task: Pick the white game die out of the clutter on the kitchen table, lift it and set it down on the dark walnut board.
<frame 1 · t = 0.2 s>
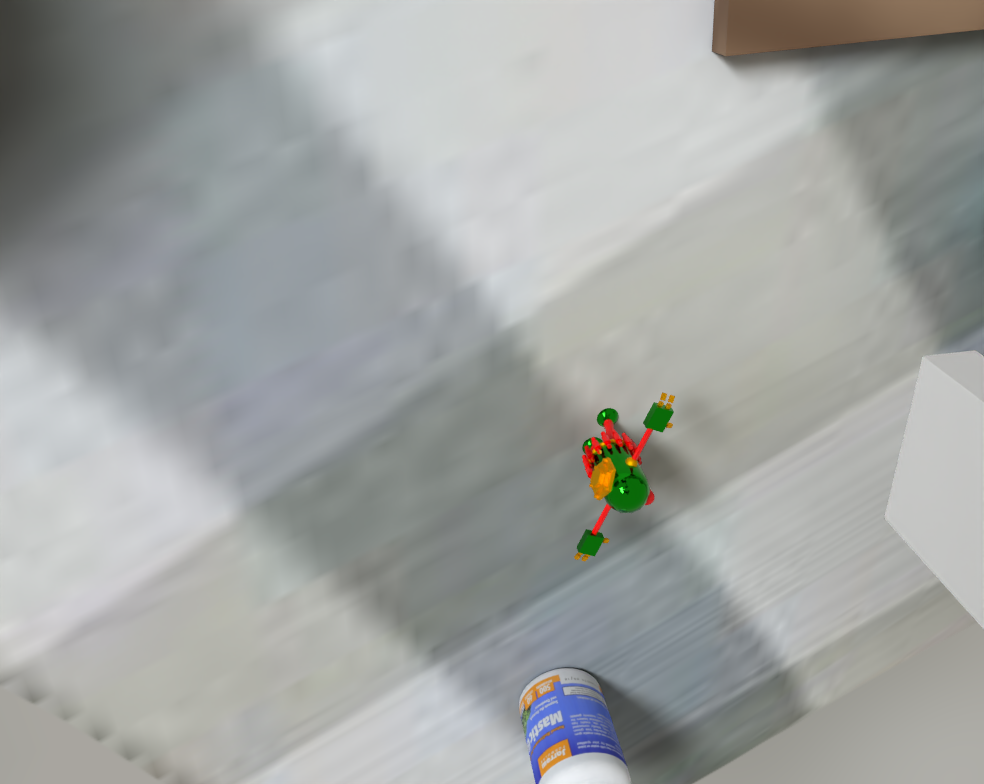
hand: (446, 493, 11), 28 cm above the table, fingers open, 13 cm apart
toy character: (581, 422, 45), on the table
pill bottle: (558, 693, 54), on the table
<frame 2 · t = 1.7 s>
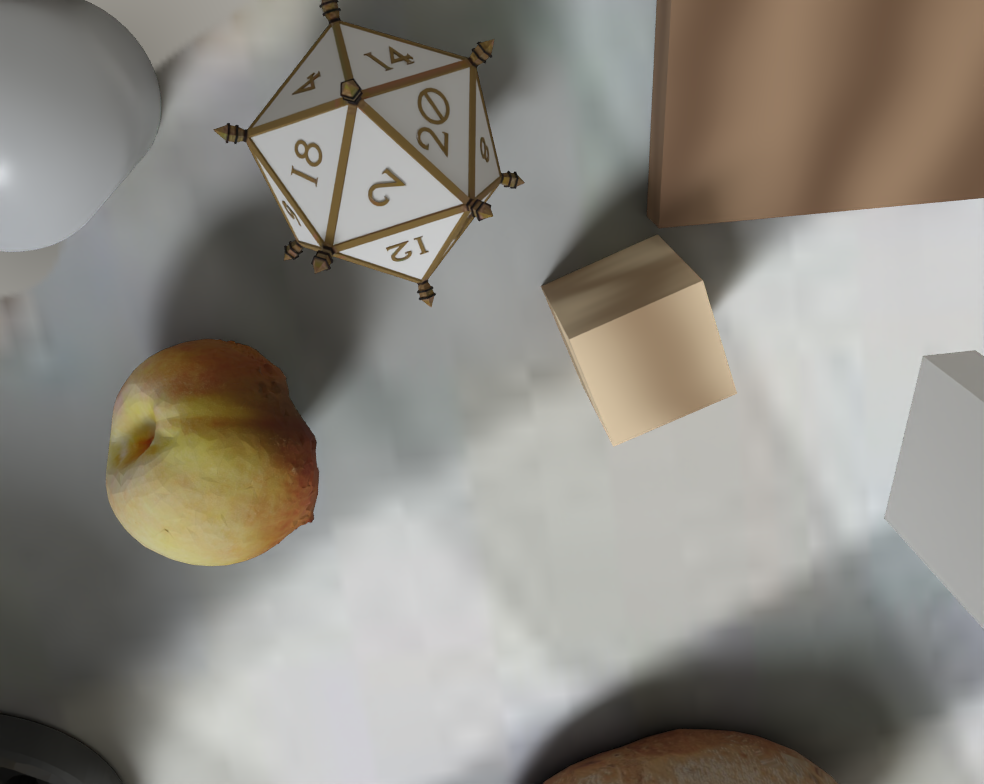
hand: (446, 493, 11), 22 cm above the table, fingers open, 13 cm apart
beech block: (617, 311, 35), on the table
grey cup: (64, 92, 28), on the table
game die: (376, 129, 30), on the table
board: (845, 7, 30), on the table
fruit: (230, 396, 34), on the table
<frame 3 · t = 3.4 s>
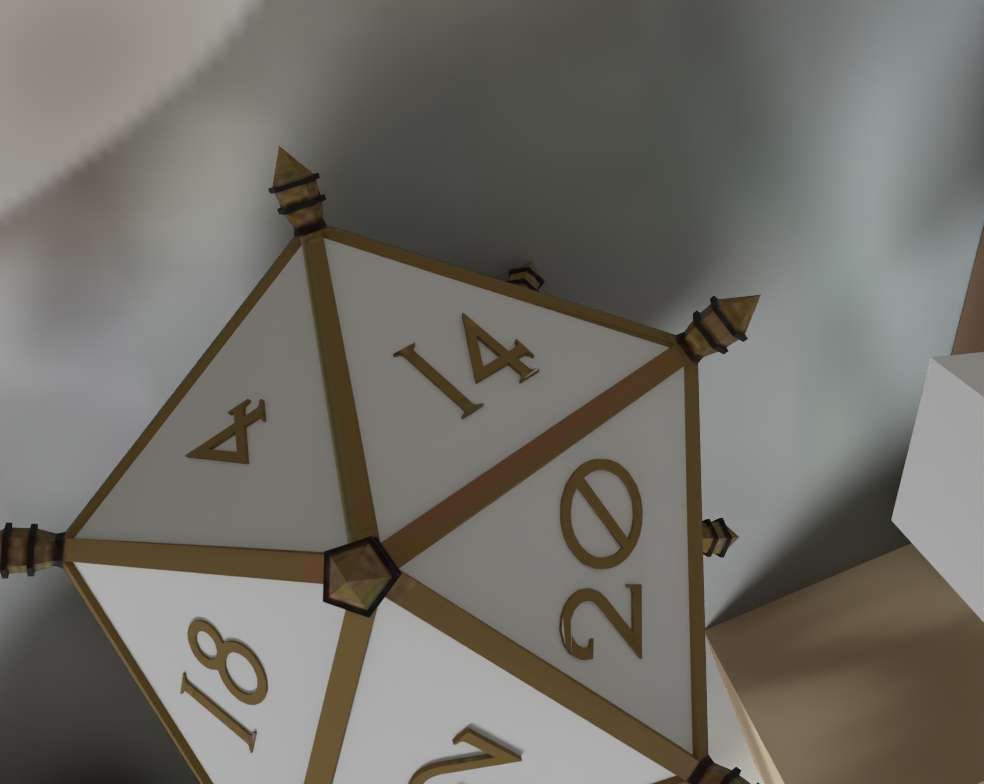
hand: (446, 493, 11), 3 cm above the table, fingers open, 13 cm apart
beech block: (831, 655, 19), on the table
game die: (402, 387, 14), on the table
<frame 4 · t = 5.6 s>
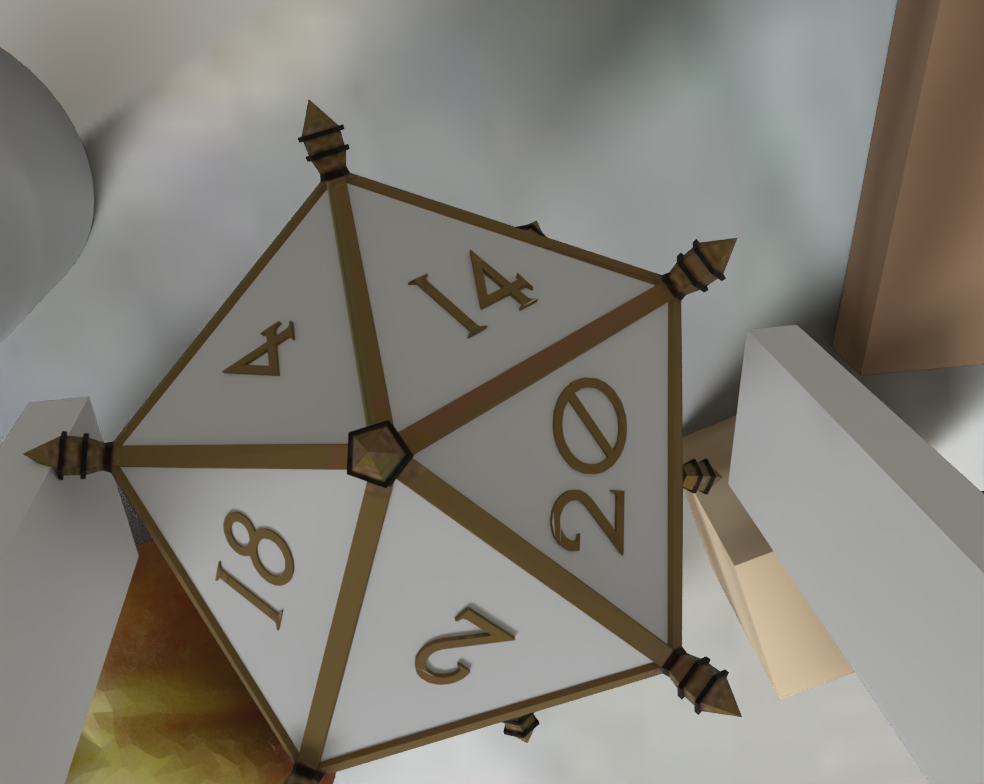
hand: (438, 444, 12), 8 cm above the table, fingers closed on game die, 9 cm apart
beech block: (772, 473, 24), on the table
game die: (413, 337, 15), point 5 cm above the table, touching gripper
fruit: (211, 587, 24), on the table
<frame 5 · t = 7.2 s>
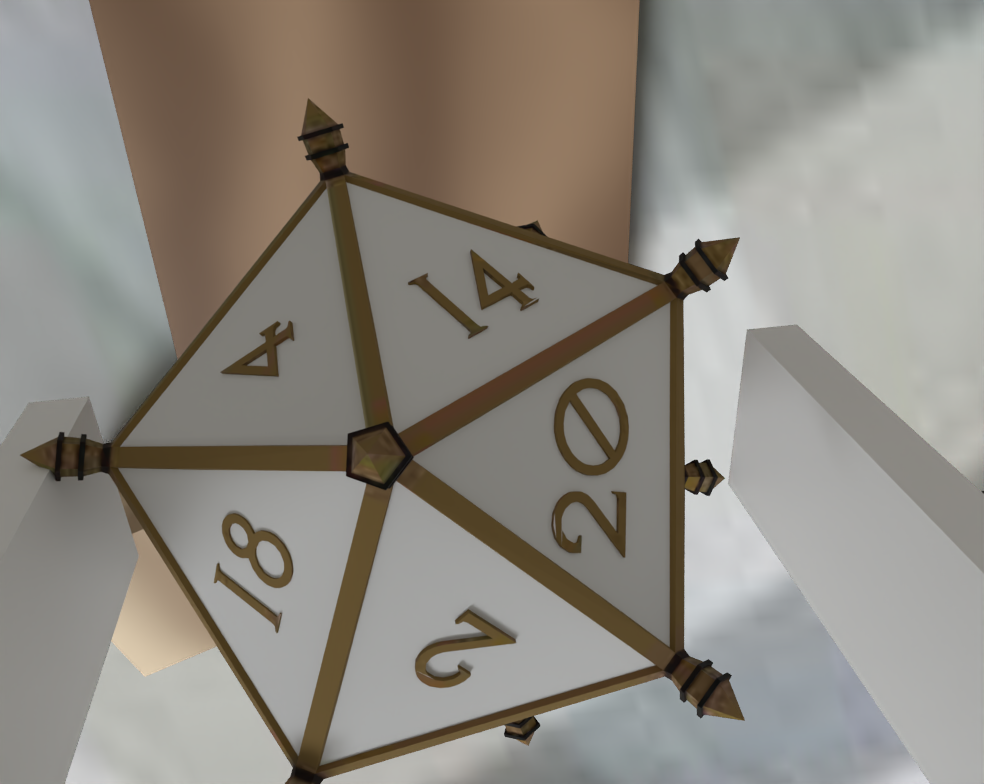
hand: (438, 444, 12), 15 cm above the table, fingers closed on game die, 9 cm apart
beech block: (195, 498, 30), on the table
game die: (414, 337, 15), point 12 cm above the table, touching gripper
board: (391, 173, 25), on the table
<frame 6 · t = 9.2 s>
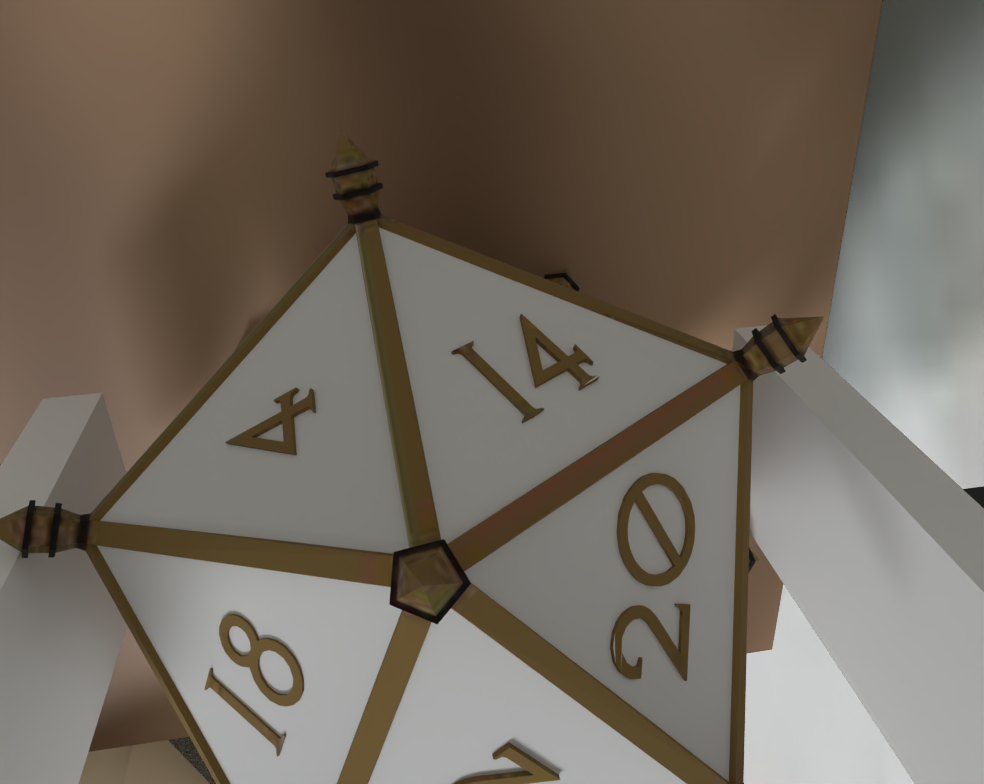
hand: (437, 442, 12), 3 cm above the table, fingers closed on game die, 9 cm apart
game die: (424, 386, 14), point 1 cm above the table, touching board, gripper
board: (412, 359, 15), on the table
when the fingers open (3 cm above the table, at t = 9.9 s): game die stays where it is, resting on board.
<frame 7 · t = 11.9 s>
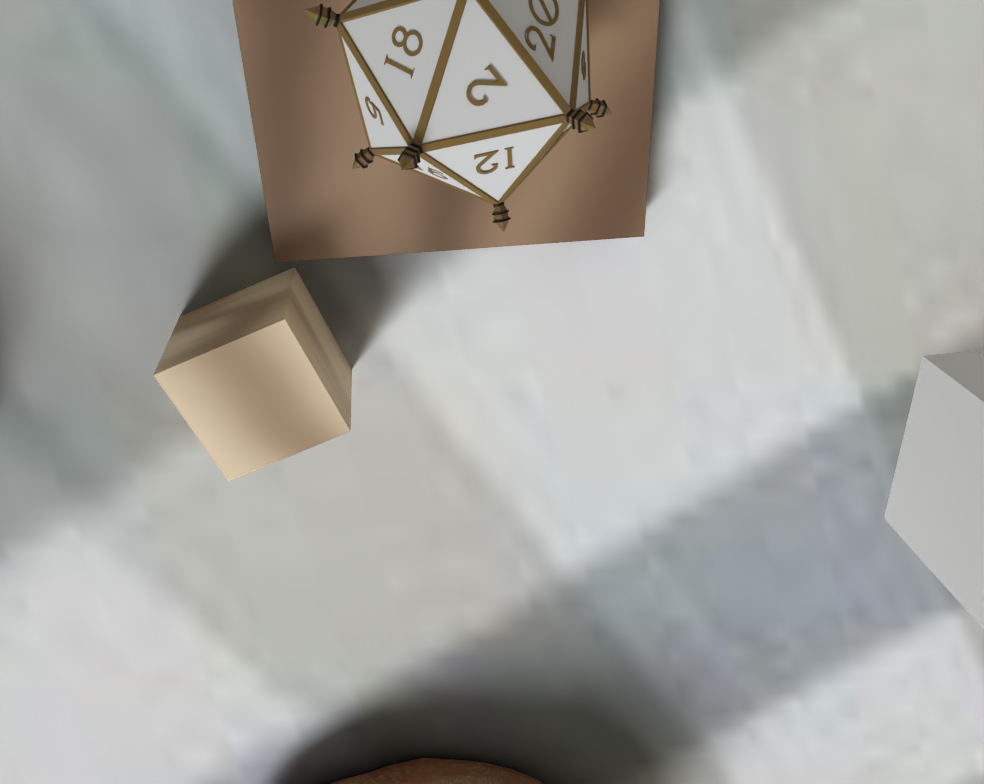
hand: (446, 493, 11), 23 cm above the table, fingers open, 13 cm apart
beech block: (268, 342, 35), on the table
game die: (457, 46, 29), point 1 cm above the table, touching board
board: (450, 45, 30), on the table
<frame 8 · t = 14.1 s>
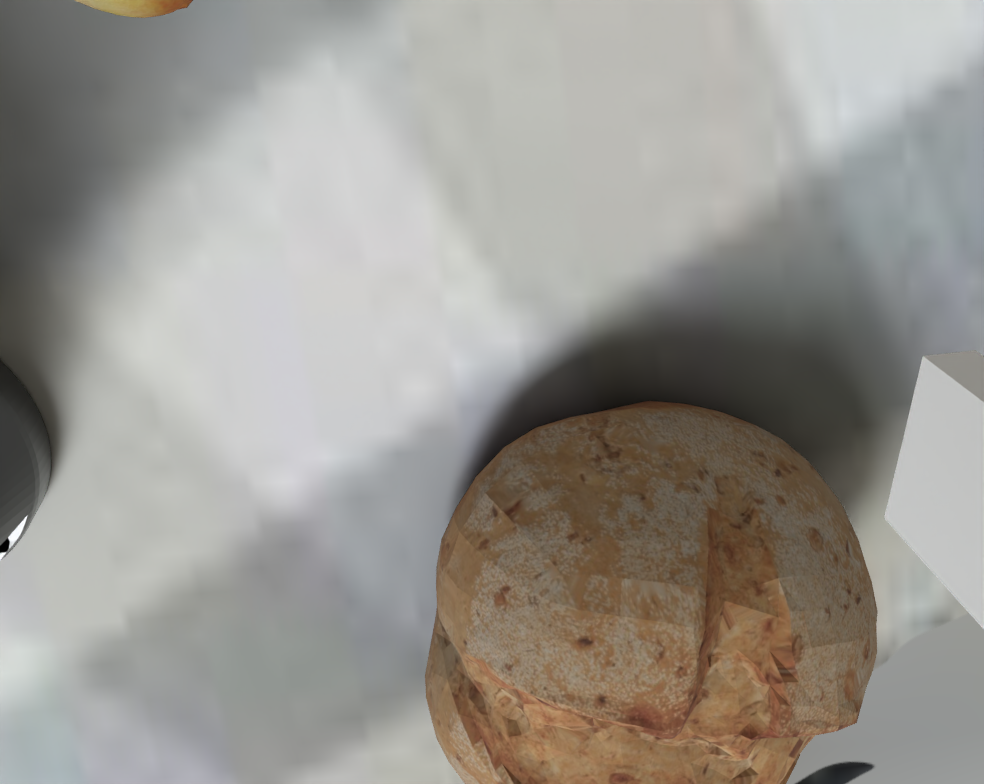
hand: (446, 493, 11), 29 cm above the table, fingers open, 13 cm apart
bread: (609, 571, 52), on the table
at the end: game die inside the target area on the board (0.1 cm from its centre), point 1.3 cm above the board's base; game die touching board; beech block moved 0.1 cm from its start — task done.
